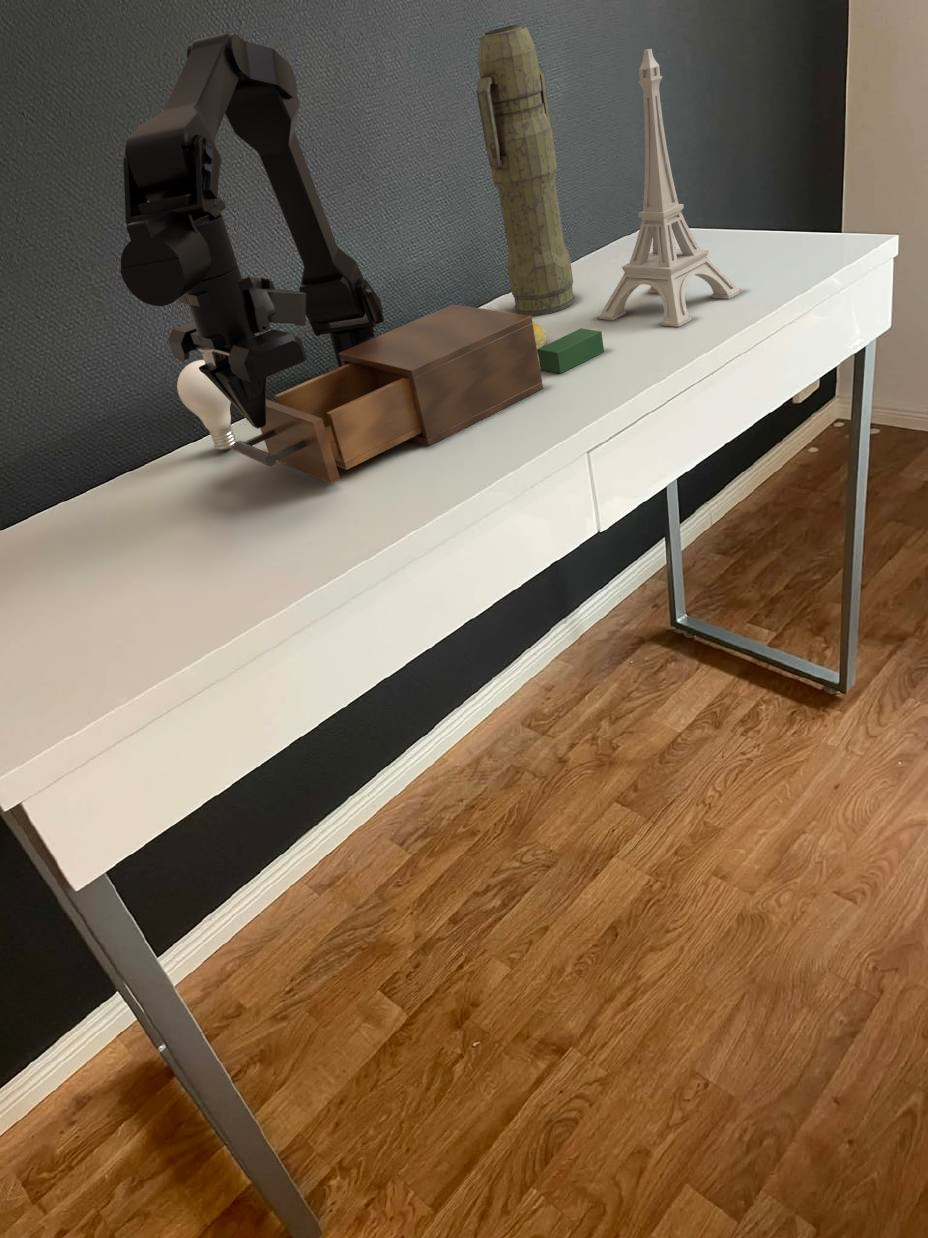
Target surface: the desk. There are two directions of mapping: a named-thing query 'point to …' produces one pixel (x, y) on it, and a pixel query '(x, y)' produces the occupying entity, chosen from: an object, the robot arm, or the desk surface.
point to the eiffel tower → (663, 226)
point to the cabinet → (457, 365)
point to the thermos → (524, 169)
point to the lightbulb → (207, 404)
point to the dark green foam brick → (570, 350)
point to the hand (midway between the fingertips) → (260, 426)
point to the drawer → (336, 421)
